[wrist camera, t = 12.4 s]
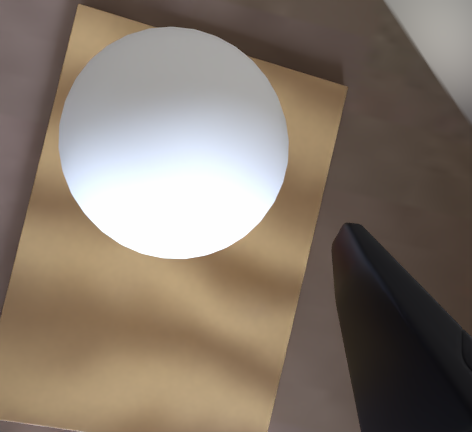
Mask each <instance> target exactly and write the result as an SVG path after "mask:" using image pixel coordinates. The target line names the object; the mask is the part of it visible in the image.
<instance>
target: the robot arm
mask: <svg viewBox="0 0 472 432" xmlns="http://www.w3.org/2000/svg"><path fill="white" fill-rule="evenodd" d="M332 262H333V275H334V288H335V299H336V306H337V311H338V316H339V321H340V327H341V332H342V337H343V342H344V347H345V352H346V357H347V362H348V367H349V372H350V377H351V383H352V388H353V393H354V398H355V403H356V408H357V413H358V418H359V423H360V428H361V432H472V337H471V336H470V335H469V334H468V333H467V332H466V331H465V330H462V327H461V326H460V325H459V324H458V323H457V322H456V321H455V320H454V319H453V318H452V317H451V316H450V315H449V314H448V313H447V312H446V311H445V310H444V309H443V308H442V307H441V306H440V305H439V304H438V303H437V302H436V301H435V300H434V299H433V298H432V296H431V295H430V294H429V293H428V292H427V291H426V290H425V289H424V288H423V287H422V286H421V285H420V284H419V283H418V282H417V281H416V280H415V279H414V278H413V277H412V276H411V275H410V274H409V273H408V272H407V271H406V270H405V269H404V268H403V267H402V266H401V265H400V264H399V263H398V262H397V261H396V260H395V259H394V258H393V257H392V256H391V255H390V254H389V253H388V252H387V251H386V250H385V249H384V247H383V246H382V245H381V244H380V243H379V242H378V241H377V240H376V239H375V238H374V237H373V236H372V235H371V234H370V233H369V232H368V231H367V230H366V229H365V228H364V227H363V226H362V225H360V224H355V223H345V224H343V226H342V227H341V229H340V231H339V233H338V234H337V236H336V238H335V240H334V241H333V244H332Z"/></svg>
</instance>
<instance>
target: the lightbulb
mask: <svg viewBox="0 0 472 432" xmlns="http://www.w3.org/2000/svg"><path fill="white" fill-rule="evenodd" d="M288 147H289V139H288V132H287V125H286V119H285V116H284V113H283V110H282V108H281V105H280V102H279V99H278V96H277V94H276V93H275V91H274V89H273V87H272V86H271V84H270V82H269V80H268V79H267V77H266V76H265V75H264V73H263V72H262V71H261V70H260V69H259V68H258V66H257V65H256V64H255V63H254V62H253V60H251V59H250V58H249V57H248V56H246V55H245V54H244V53H243V52H241V51H240V50H239V49H238V48H237V47H235V46H233V45H232V44H230V43H228V42H226V41H224V40H222V39H220V38H219V37H217V36H214V35H211V34H208V33H205V32H202V31H199V30H195V29H189V28H180V27H161V28H149V29H146V30H142V31H139V32H136V33H132V34H129V35H126V36H124V37H123V38H121V39H119V40H117V41H115V42H113V43H111V44H109V45H108V46H106V47H105V48H104V49H103V50H102V51H100V52H99V53H98V54H97V55H96V56H94V57H93V58H92V59H91V60H90V61H89V62H88V63H87V65H86V66H85V67H84V68H83V70H82V71H81V72H80V74H79V75H78V76H77V77H76V79H75V81H74V83H73V85H72V87H71V89H70V91H69V94H68V96H67V98H66V100H65V103H64V107H63V111H62V115H61V119H60V124H59V146H58V148H59V154H60V160H61V166H62V171H63V174H64V176H65V179H66V181H67V184H68V186H69V189H70V191H71V194H72V195H73V197H74V198H75V200H76V201H77V203H78V204H79V206H80V208H81V209H82V211H83V212H84V213H85V215H86V216H87V217H88V218H89V219H90V220H91V221H92V222H93V223H94V224H95V225H96V226H97V227H98V228H99V229H100V230H101V231H102V232H103V233H105V234H106V235H108V236H109V237H111V238H112V239H114V240H115V241H117V242H118V243H119V244H121V245H123V246H125V247H128V248H130V249H132V250H135V251H137V252H139V253H142V254H146V255H151V256H155V257H160V258H175V259H187V258H193V257H198V256H204V255H208V254H211V253H214V252H216V251H219V250H221V249H224V248H227V247H228V246H230V245H232V244H233V243H235V242H236V241H238V240H239V239H241V238H243V237H244V236H246V235H247V234H248V233H249V232H250V231H251V230H252V229H253V228H254V227H255V226H256V225H257V224H258V223H259V222H260V221H261V220H262V219H263V217H264V216H265V214H266V213H267V212H268V210H269V209H270V207H271V206H272V205H273V203H274V202H275V199H276V197H277V195H278V193H279V191H280V188H281V186H282V184H283V181H284V176H285V172H286V168H287V164H288Z"/></svg>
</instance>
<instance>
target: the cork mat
mask: <svg viewBox="0 0 472 432" xmlns="http://www.w3.org/2000/svg"><path fill="white" fill-rule="evenodd" d="M149 28H157V27H153V26H150V25H147V24H144V23H140V22H137V21H134V20H131V19H127V18H124V17H121V16H118V15H115V14H111V13H108V12H105V11H102V10H98V9H95V8H92V7H89V6H85V5H82V4H78V6H77V10H76V15H75V19H74V23H73V27H72V31H71V35H70V39H69V43H68V47H67V51H66V55H65V59H64V63H63V67H62V71H61V75H60V79H59V83H58V87H57V91H56V95H55V99H54V103H53V107H52V111H51V115H50V120H49V124H48V128H47V132H46V136H45V140H44V144H43V148H42V152H41V156H40V160H39V164H38V168H37V172H36V176H35V180H34V184H33V188H32V192H31V196H30V200H29V204H28V208H27V212H26V216H25V220H24V225H23V229H22V233H21V237H20V241H19V245H18V249H17V253H16V257H15V261H14V265H13V269H12V273H11V277H10V281H9V285H8V289H7V293H6V297H5V301H4V305H3V309H2V313H1V317H0V420H2V421H9V422H17V423H24V424H31V425H38V426H45V427H52V428H59V429H66V430H73V431H81V432H268V427H269V423H270V419H271V414H272V410H273V406H274V402H275V397H276V393H277V389H278V385H279V380H280V376H281V372H282V367H283V363H284V359H285V355H286V350H287V346H288V342H289V338H290V333H291V329H292V325H293V320H294V316H295V312H296V308H297V303H298V299H299V295H300V291H301V286H302V282H303V278H304V273H305V269H306V265H307V261H308V256H309V252H310V248H311V244H312V239H313V235H314V231H315V226H316V222H317V218H318V214H319V209H320V205H321V201H322V197H323V192H324V188H325V184H326V179H327V175H328V171H329V167H330V162H331V158H332V154H333V150H334V145H335V141H336V137H337V132H338V128H339V124H340V120H341V115H342V111H343V107H344V103H345V98H346V94H347V90H348V87H347V86H344V85H341V84H337V83H334V82H331V81H328V80H325V79H321V78H318V77H315V76H312V75H308V74H305V73H302V72H299V71H295V70H292V69H289V68H286V67H283V66H279V65H276V64H273V63H270V62H266V61H263V60H260V59H257V58H253V57H250V56H248V57H249V58H250V59H251V60H253V62H254V63H255V64H256V65H257V66H258V68H259V69H260V70H261V71H262V72H263V73H264V75H265V76H266V77H267V79H268V80H269V82H270V84H271V86H272V87H273V89H274V91H275V93H276V94H277V96H278V99H279V102H280V105H281V108H282V110H283V113H284V116H285V119H286V125H287V132H288V139H289V147H288V164H287V168H286V172H285V176H284V181H283V184H282V186H281V188H280V191H279V193H278V195H277V197H276V199H275V202H274V203H273V205H272V206H271V207H270V209H269V210H268V212H267V213H266V214H265V216H264V217H263V219H262V220H261V221H260V222H259V223H258V224H257V225H256V226H255V227H254V228H253V229H252V230H251V231H250V232H249V233H248V234H247V235H246V236H244V237H243V238H241V239H239V240H238V241H236V242H235V243H233V244H232V245H230V246H228V247H227V248H224V249H221V250H219V251H216V252H214V253H211V254H208V255H204V256H198V257H193V258H187V259H175V258H160V257H155V256H151V255H146V254H142V253H139V252H137V251H135V250H132V249H130V248H128V247H125V246H123V245H121V244H119V243H118V242H117V241H115V240H114V239H112V238H111V237H109V236H108V235H106V234H105V233H103V232H102V231H101V230H100V229H99V228H98V227H97V226H96V225H95V224H94V223H93V222H92V221H91V220H90V219H89V218H88V217H87V216H86V215H85V213H84V212H83V211H82V209H81V208H80V206H79V204H78V203H77V201H76V200H75V198H74V197H73V195H72V194H71V191H70V189H69V186H68V184H67V181H66V179H65V176H64V174H63V171H62V166H61V160H60V154H59V148H58V146H59V124H60V119H61V115H62V111H63V107H64V103H65V100H66V98H67V96H68V94H69V91H70V89H71V87H72V85H73V83H74V81H75V79H76V77H77V76H78V75H79V74H80V72H81V71H82V70H83V68H84V67H85V66H86V65H87V63H88V62H89V61H90V60H91V59H92V58H93V57H94V56H96V55H97V54H98V53H99V52H100V51H102V50H103V49H104V48H105V47H106V46H108V45H109V44H111V43H113V42H115V41H117V40H119V39H121V38H123V37H124V36H126V35H129V34H132V33H136V32H139V31H142V30H146V29H149ZM246 56H247V55H246Z"/></svg>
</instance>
